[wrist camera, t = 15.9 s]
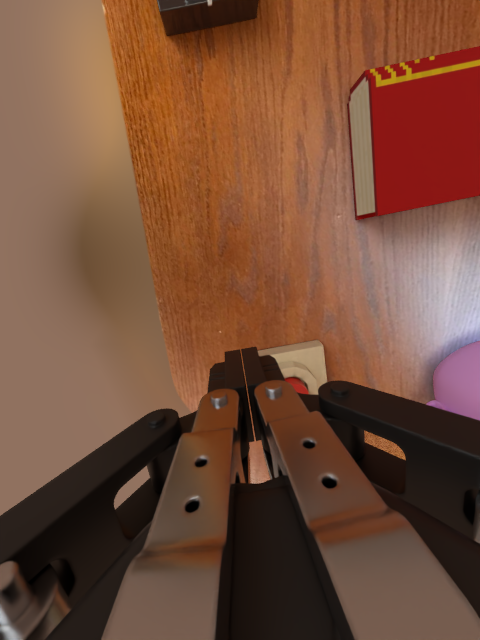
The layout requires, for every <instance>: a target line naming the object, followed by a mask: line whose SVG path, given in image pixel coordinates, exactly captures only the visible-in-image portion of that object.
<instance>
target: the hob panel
mask: <svg viewBox="0 0 480 640" xmlns="http://www.w3.org/2000/svg"><path fill="white" fill-rule="evenodd" d="M258 1H259V0H157V2H158V7H159V12H160V15H161V18H162V22H163V25H164V28H165V32H166V35H167V36H170V35H175V34H180V33H185V32H190V31H195V30H200V29H205V28H210V27H215V26H220V25H225V24H230V23H235V22H240V21H245V20H250V19H255V18H256V17H257V9H258Z"/></svg>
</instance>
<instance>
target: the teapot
mask: <svg viewBox="0 0 480 640" xmlns="http://www.w3.org/2000/svg"><path fill="white" fill-rule="evenodd" d="M433 388H434V395H435V400H432V401H429V402H428V403H427V404H426V405H429V406H432V407H436V408H439V409H443V410H446V411H449V412H453V413H456V414H460V415H463V416H466V417H470V418H473V419H477V420H480V341H477V342H474V343H471V344H468V345H466V346H464V347H462V348H460V349H458V350H456V351H455V352H453V353H452V354H450V355H449V356H447V357H446V358H445V359H444V360H443V361H441V362H440V364H439V365H438V366H437V368H436V369H435V371H434V375H433Z"/></svg>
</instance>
